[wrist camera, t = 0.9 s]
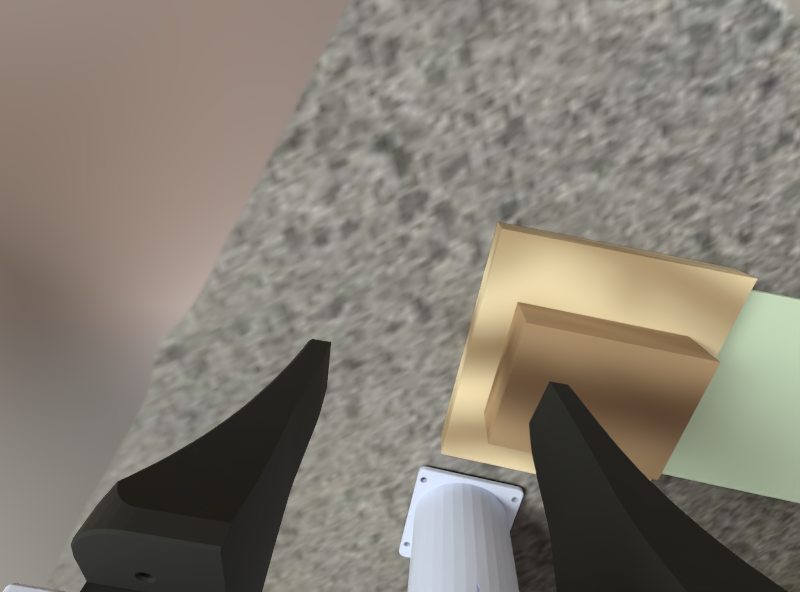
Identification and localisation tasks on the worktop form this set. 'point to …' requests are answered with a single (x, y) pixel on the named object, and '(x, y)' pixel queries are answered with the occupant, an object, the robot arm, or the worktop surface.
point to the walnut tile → (600, 380)
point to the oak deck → (579, 312)
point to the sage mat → (750, 406)
